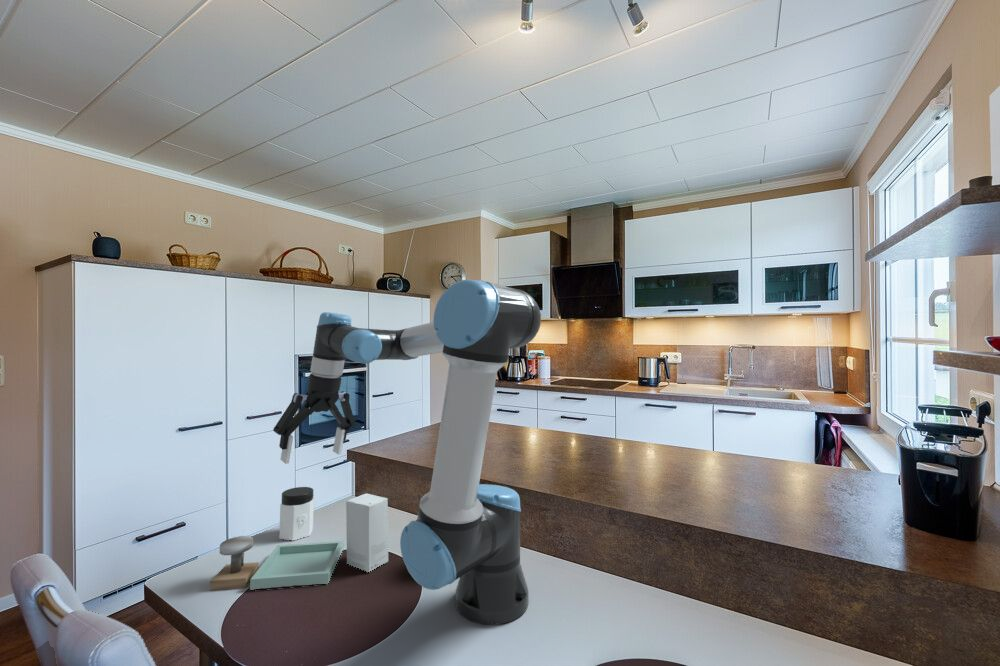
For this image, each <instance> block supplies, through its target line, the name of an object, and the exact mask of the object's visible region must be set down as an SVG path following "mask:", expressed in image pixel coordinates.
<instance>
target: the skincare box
mask: <svg viewBox="0 0 1000 666" xmlns="http://www.w3.org/2000/svg"><path fill="white" fill-rule="evenodd" d="M345 504H346V506H345V507H346V508H345V511H346V519H345V520H346V565H347V564H349V565H348V566H350V565H351V566H350V567H352V566H353V567H352V568H355V567H356V568H355V569H357V568H359V569H358V570H360V569H361V570H360V571H363V570H364V571H363V572H365V571H366V572H365V573H368V572H369V573H371V572H373V571H375V570H377V569H378V568H377V567H379V566H380V567H382V566H383V564H384V565H385V564H387V563H389V521H388V520H389V519H388V518H389V516H388V515H389V512H388V508H389V506H388V505H389V504H388V497H385V496H378V495H375V494H371V493H364V494H361V495H359V496H356V497H353V498H350V499H348V500H346V503H345ZM381 565H382V566H381ZM380 567H379V568H380ZM376 568H377V569H376ZM374 569H375V570H374ZM372 570H373V571H372ZM370 571H371V572H370Z"/></svg>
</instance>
